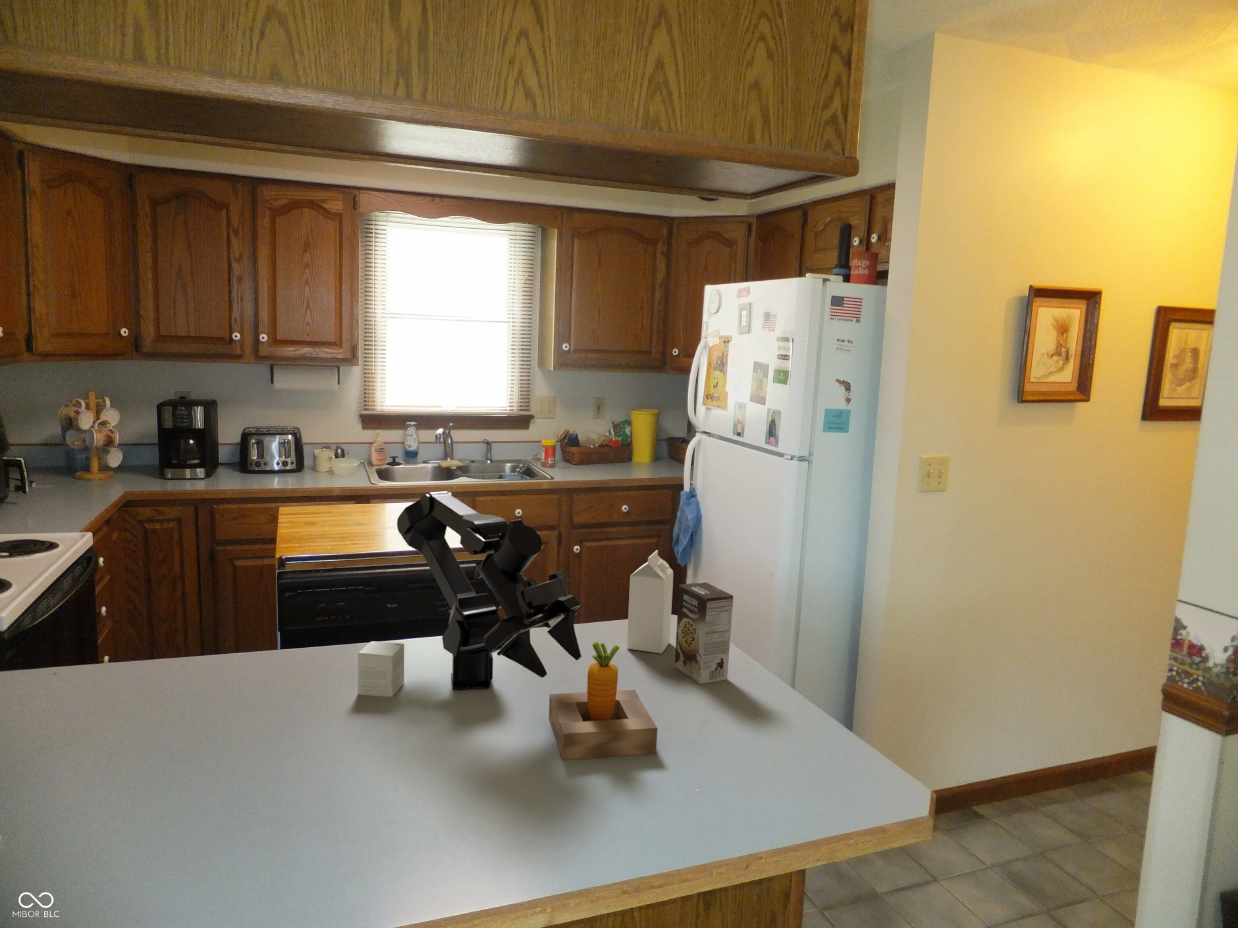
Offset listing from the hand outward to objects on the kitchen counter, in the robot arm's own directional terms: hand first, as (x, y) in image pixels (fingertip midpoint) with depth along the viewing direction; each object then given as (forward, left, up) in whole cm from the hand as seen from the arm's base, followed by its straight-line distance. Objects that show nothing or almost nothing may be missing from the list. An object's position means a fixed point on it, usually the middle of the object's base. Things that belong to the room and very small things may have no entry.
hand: (562, 667), depth 135 cm
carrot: (+5, -5, -9) cm, 12 cm away
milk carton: (+23, +32, -9) cm, 40 cm away
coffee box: (+29, +17, -9) cm, 35 cm away
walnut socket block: (+5, -5, -9) cm, 12 cm away
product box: (-28, +17, -9) cm, 34 cm away
